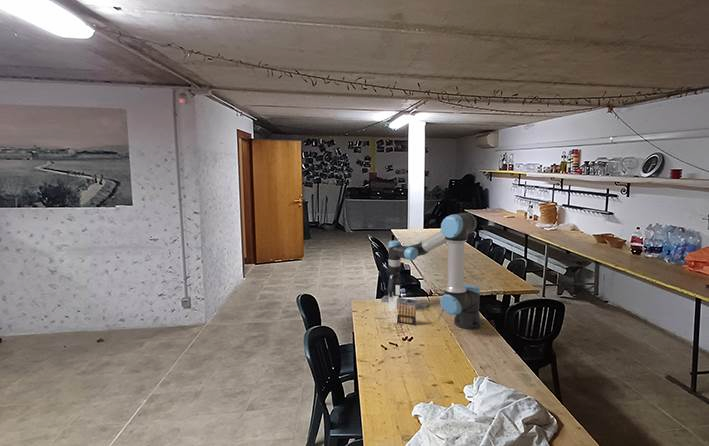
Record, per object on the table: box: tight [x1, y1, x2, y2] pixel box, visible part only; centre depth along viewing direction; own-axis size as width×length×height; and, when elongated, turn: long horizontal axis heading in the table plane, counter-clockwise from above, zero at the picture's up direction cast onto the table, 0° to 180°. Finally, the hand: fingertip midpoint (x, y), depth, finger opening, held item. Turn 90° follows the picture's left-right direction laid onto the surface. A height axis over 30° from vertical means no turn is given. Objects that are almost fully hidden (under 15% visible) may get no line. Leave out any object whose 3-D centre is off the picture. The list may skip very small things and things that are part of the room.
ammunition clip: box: [396, 303, 417, 326], centre depth 226 cm, size 11×2×12 cm, turn 71°
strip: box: [380, 295, 445, 312], centre depth 254 cm, size 42×7×4 cm, turn 66°
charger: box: [388, 295, 400, 310], centre depth 248 cm, size 5×4×8 cm
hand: (394, 298), depth 247 cm, fingers open, 13 cm apart
